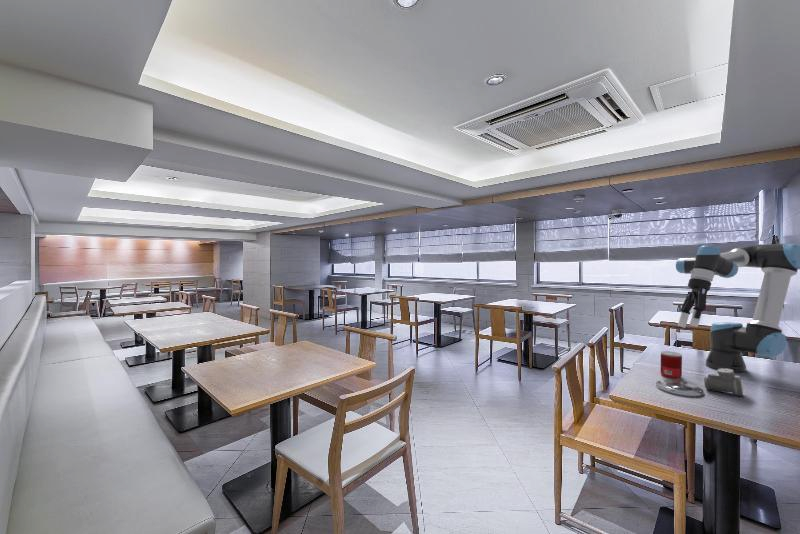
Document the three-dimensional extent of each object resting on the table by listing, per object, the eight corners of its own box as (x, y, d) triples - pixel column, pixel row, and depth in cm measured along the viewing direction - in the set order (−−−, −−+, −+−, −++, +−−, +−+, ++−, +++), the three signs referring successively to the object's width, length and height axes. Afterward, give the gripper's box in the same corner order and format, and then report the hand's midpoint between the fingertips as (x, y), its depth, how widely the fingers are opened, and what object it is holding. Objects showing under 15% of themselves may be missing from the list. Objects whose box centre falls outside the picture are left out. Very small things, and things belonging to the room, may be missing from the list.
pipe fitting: (744, 392, 146) (741, 368, 146) (744, 399, 140) (741, 374, 140) (706, 388, 154) (703, 365, 154) (705, 394, 148) (701, 371, 148)
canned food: (685, 379, 162) (685, 356, 162) (665, 378, 164) (666, 355, 164) (675, 373, 170) (676, 351, 169) (657, 372, 171) (657, 350, 171)
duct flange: (663, 380, 162) (663, 376, 162) (708, 390, 149) (708, 387, 149) (649, 388, 152) (649, 384, 152) (696, 400, 139) (696, 396, 139)
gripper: (680, 281, 166) (667, 324, 165) (702, 273, 143) (687, 322, 142) (699, 286, 163) (686, 329, 162) (724, 278, 140) (710, 328, 139)
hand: (687, 326), depth 152 cm, fingers open, 13 cm apart
